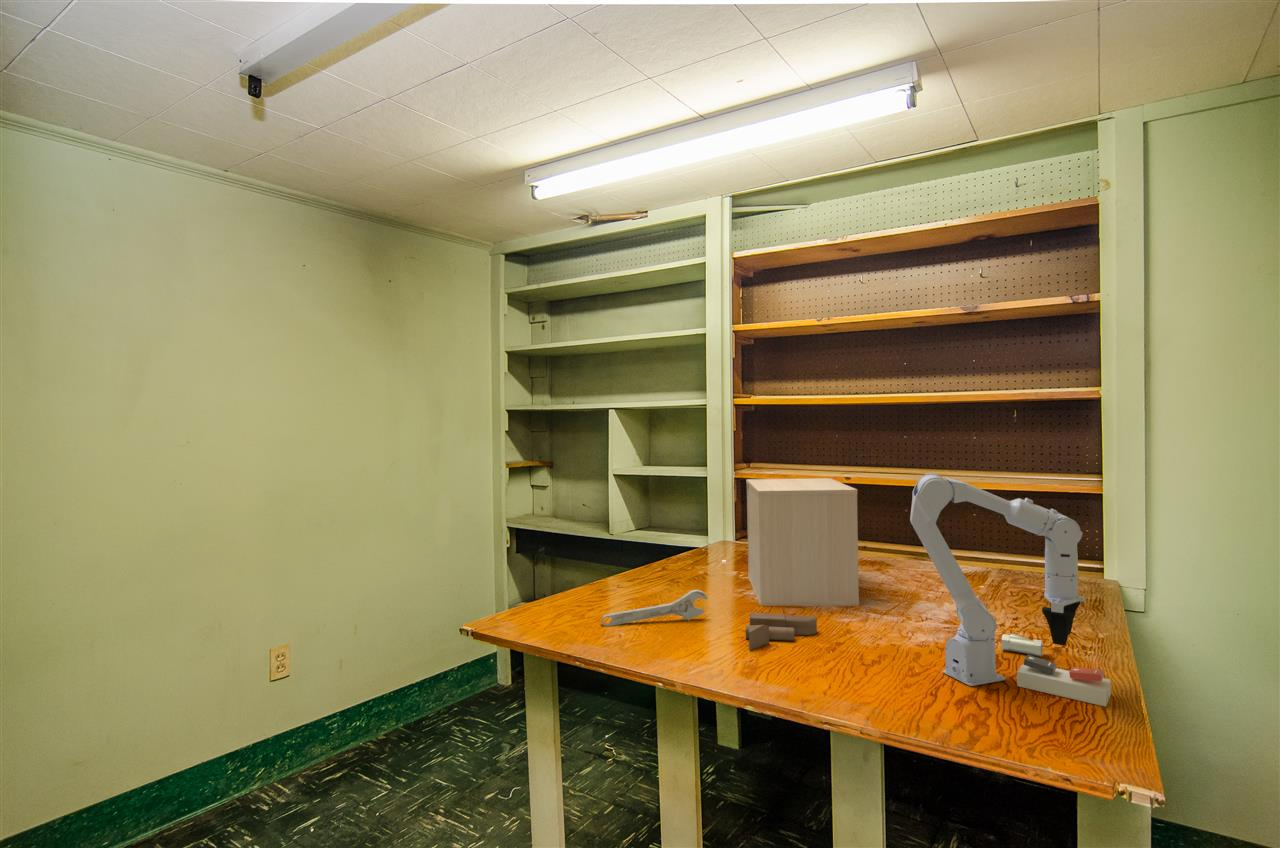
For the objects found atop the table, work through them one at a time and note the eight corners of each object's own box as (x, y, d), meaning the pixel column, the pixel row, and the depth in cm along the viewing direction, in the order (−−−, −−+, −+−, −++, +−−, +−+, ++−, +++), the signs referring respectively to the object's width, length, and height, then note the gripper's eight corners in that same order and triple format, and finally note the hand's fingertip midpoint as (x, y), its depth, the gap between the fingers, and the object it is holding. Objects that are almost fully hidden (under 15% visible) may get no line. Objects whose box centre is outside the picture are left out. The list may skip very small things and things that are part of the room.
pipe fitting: (1005, 646, 159) (1001, 652, 153) (1005, 629, 159) (1001, 635, 153) (1044, 652, 154) (1041, 659, 148) (1044, 636, 154) (1041, 642, 149)
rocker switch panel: (1111, 694, 129) (1110, 679, 129) (1106, 706, 124) (1105, 691, 124) (1024, 675, 139) (1024, 661, 139) (1017, 686, 134) (1016, 671, 134)
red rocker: (1104, 675, 128) (1103, 669, 128) (1101, 681, 126) (1100, 674, 126) (1073, 673, 132) (1072, 666, 132) (1070, 678, 129) (1069, 671, 129)
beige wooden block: (747, 576, 229) (746, 479, 228) (831, 576, 227) (830, 478, 226) (760, 605, 194) (758, 490, 193) (859, 605, 192) (857, 489, 192)
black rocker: (1055, 669, 134) (1056, 663, 134) (1052, 674, 131) (1053, 668, 131) (1027, 660, 137) (1028, 654, 137) (1023, 664, 135) (1024, 658, 135)
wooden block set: (746, 608, 174) (816, 611, 171) (746, 629, 174) (816, 632, 171) (744, 628, 158) (821, 632, 154) (744, 652, 158) (821, 655, 154)
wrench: (603, 635, 180) (708, 615, 184) (604, 637, 178) (710, 617, 182) (599, 606, 180) (704, 587, 183) (600, 608, 178) (706, 589, 182)
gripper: (1081, 583, 126) (1081, 653, 126) (1087, 569, 137) (1088, 633, 137) (1038, 578, 130) (1039, 645, 131) (1048, 564, 142) (1049, 626, 142)
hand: (1061, 639), depth 134 cm, fingers open, 7 cm apart
